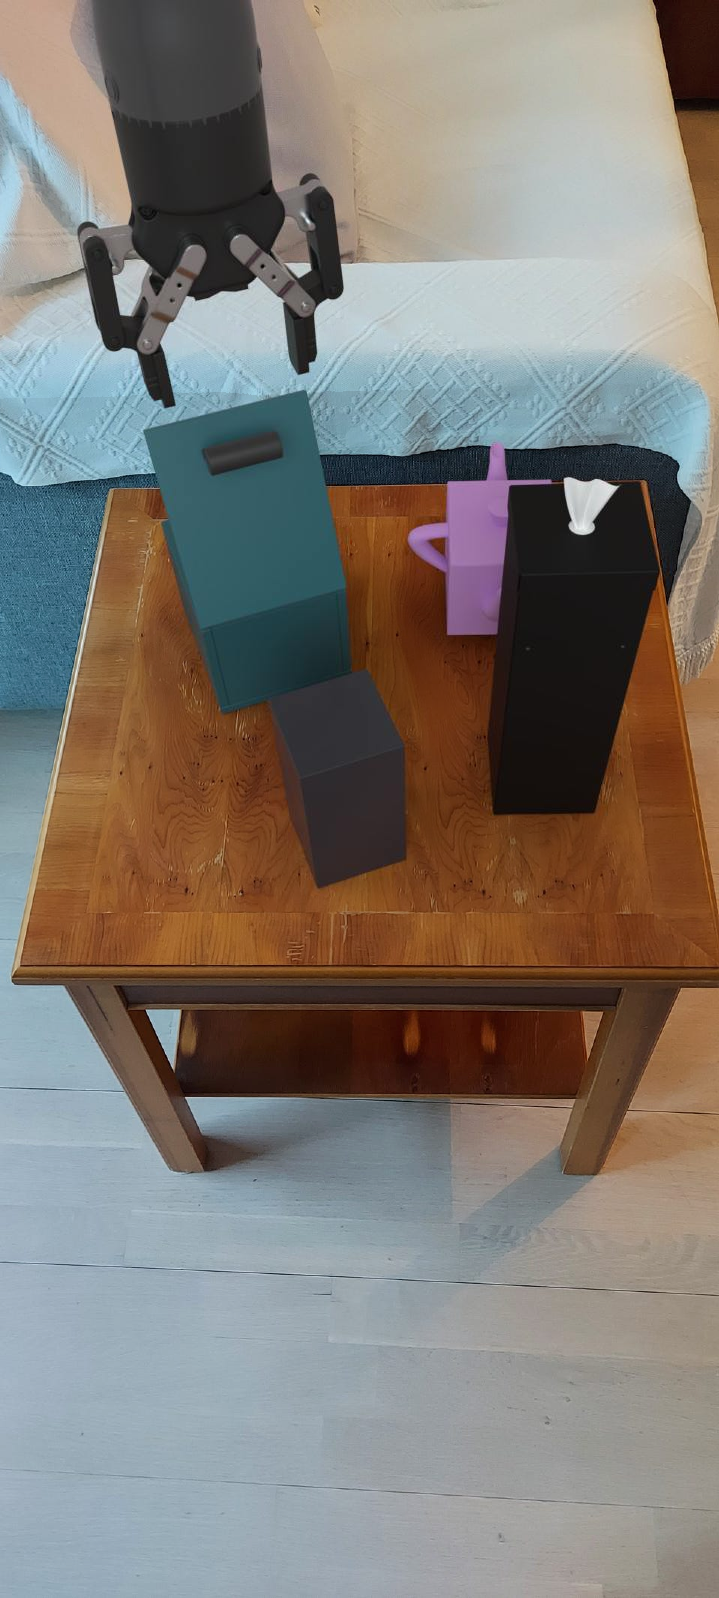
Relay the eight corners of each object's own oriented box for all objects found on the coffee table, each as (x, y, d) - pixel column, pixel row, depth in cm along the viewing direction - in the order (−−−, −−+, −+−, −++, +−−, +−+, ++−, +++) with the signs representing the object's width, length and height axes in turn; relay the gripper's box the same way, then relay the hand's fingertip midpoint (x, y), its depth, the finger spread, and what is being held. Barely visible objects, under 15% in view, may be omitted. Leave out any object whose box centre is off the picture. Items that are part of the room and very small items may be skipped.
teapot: (610, 612, 88) (632, 513, 79) (500, 689, 84) (509, 594, 75) (490, 526, 95) (498, 427, 86) (382, 593, 91) (379, 495, 82)
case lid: (142, 429, 68) (149, 438, 64) (304, 389, 70) (321, 395, 66) (199, 626, 75) (209, 646, 71) (344, 585, 77) (362, 602, 73)
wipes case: (183, 606, 91) (160, 521, 83) (304, 572, 93) (293, 485, 85) (221, 714, 83) (201, 632, 75) (352, 675, 85) (346, 591, 77)
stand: (317, 889, 74) (299, 778, 62) (289, 815, 77) (267, 698, 66) (406, 859, 75) (404, 745, 63) (374, 788, 78) (367, 668, 67)
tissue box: (595, 815, 76) (673, 524, 53) (491, 817, 76) (524, 528, 53) (583, 734, 80) (650, 432, 57) (485, 736, 81) (513, 437, 58)
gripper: (300, 27, 52) (323, 327, 65) (26, 79, 49) (109, 378, 63) (347, 81, 48) (362, 389, 61) (51, 141, 45) (134, 447, 59)
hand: (233, 383), depth 62 cm, fingers open, 8 cm apart
